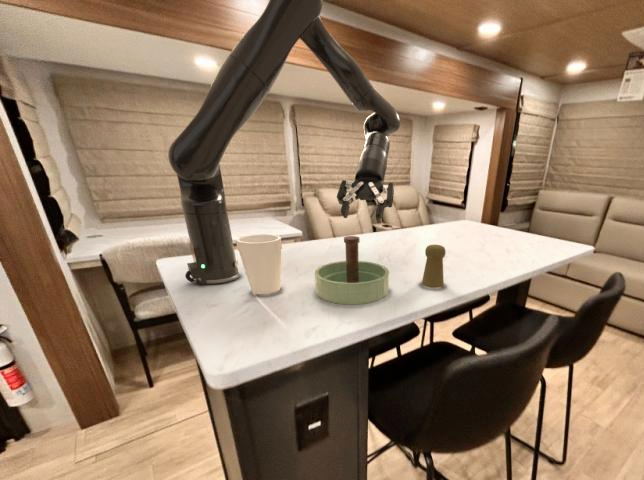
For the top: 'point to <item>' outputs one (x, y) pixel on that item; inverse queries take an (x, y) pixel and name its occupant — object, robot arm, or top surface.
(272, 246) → the foam cup
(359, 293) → the bowl
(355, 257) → the rod
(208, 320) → the top surface
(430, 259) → the cork
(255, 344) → the top surface
